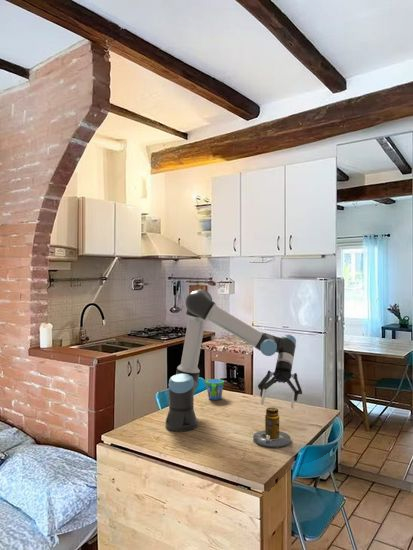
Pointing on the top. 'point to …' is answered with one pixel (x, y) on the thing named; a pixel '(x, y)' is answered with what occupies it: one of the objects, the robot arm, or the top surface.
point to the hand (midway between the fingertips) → (276, 405)
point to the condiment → (271, 424)
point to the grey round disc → (274, 443)
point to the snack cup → (214, 388)
